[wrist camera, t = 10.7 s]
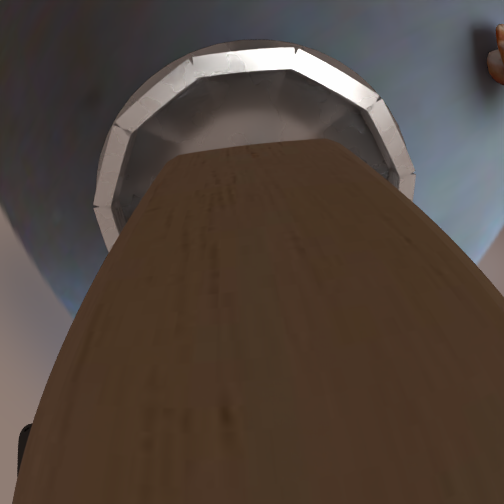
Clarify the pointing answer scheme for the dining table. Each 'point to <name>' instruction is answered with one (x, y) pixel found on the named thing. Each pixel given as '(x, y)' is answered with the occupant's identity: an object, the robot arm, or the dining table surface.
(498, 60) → the figurine
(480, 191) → the dining table surface
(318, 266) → the block
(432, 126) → the dining table surface
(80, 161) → the dining table surface
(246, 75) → the metallic bowl
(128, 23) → the dining table surface
